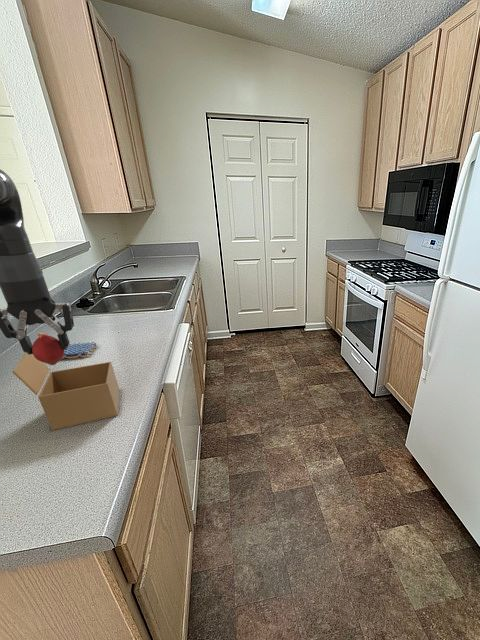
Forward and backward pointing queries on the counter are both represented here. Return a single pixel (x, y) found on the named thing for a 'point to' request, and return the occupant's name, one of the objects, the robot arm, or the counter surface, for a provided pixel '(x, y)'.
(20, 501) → the counter surface
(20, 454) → the counter surface
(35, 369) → the flap
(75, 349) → the woven mat
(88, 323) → the counter surface
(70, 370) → the carton
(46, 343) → the onion
